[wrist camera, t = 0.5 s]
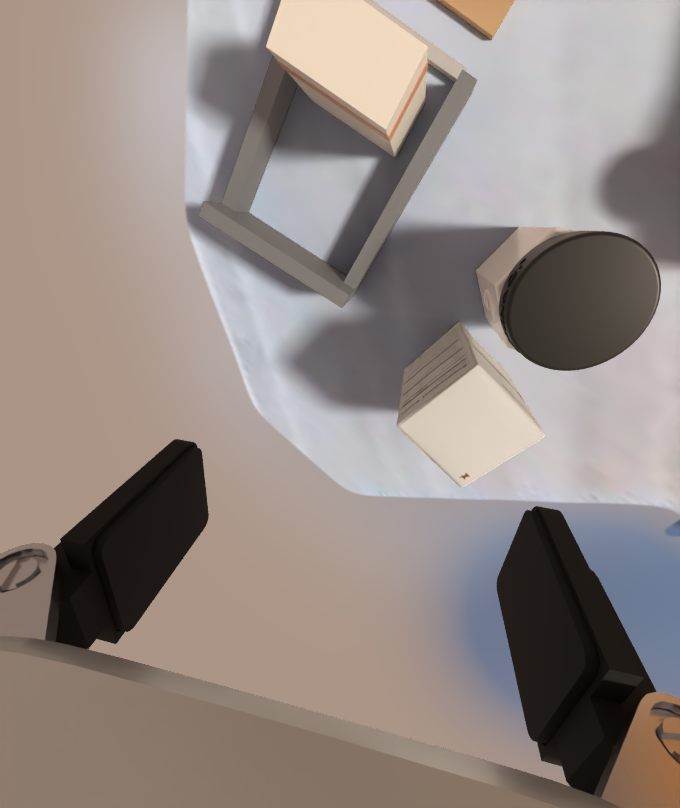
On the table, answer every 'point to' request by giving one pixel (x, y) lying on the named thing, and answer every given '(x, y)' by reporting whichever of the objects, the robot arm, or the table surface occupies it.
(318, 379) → the table surface
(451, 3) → the cork mat
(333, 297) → the frame
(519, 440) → the supplement box
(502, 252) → the jar
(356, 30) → the taped cardboard box
